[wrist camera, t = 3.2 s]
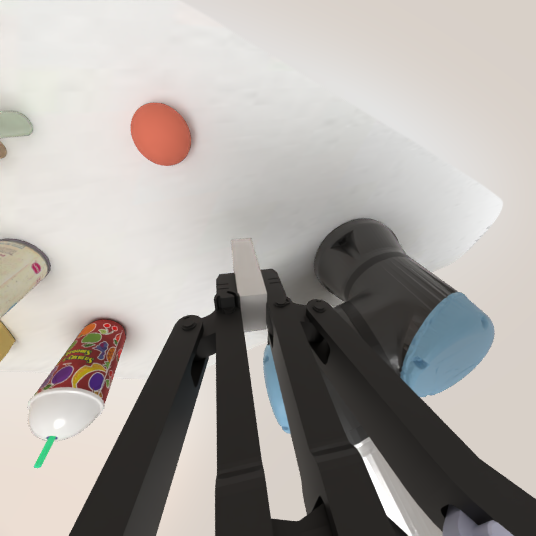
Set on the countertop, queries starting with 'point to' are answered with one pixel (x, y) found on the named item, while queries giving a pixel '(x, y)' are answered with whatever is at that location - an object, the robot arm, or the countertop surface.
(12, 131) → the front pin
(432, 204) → the countertop surface
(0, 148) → the pin
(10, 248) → the aerosol can
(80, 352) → the smoothie
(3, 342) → the yellow box
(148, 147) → the ball
